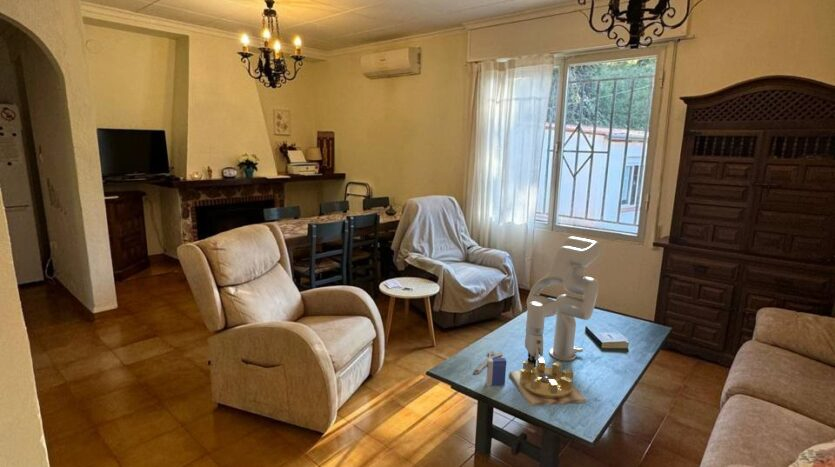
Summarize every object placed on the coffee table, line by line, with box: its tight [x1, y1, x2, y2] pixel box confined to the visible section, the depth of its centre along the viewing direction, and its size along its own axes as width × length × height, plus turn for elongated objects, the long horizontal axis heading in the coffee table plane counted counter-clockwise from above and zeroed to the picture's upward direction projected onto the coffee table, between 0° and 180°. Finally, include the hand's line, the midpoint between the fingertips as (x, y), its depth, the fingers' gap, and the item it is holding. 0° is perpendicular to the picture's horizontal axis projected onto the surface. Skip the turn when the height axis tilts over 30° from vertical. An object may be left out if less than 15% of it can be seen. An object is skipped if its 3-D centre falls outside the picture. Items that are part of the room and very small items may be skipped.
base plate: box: [509, 370, 586, 407], centre depth 191 cm, size 24×24×2 cm
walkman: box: [485, 357, 507, 387], centre depth 192 cm, size 8×3×12 cm, turn 96°
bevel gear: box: [520, 357, 574, 399], centre depth 190 cm, size 22×22×6 cm
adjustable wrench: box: [473, 349, 503, 375], centre depth 211 cm, size 25×6×2 cm, turn 141°
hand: (531, 366), depth 199 cm, fingers closed
